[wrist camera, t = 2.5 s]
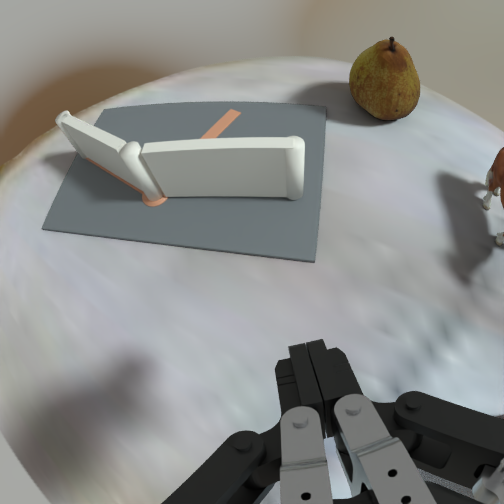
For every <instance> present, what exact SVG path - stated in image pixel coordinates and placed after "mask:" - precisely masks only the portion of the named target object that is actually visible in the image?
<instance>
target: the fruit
mask: <svg viewBox="0 0 504 504" xmlns="http://www.w3.org/2000/svg"><path fill="white" fill-rule="evenodd" d="M389 39H390V40H383V41H379V42H377V43H376V44H375V45H373V46H372V47H370V48H368V49H366V50H365V51H363V52H362V53H361V54H360V55H359V56H358V58H357V59H356V60H355V62H354V64H353V66H352V68H351V71H350V77H349V85H350V90H351V94H352V96H353V98H354V100H355V101H356V102H357V103H358V104H359V105H360V106H361V107H362V108H364V109H365V110H366V111H367V112H369V113H370V114H371V115H373V116H374V117H376V118H379V119H382V120H396V119H401V118H404V117H406V116H407V115H409V114H410V113H411V112H412V111H413V110H414V109H415V107H416V105H417V103H418V100H419V97H420V81H419V78H418V75H417V72H416V69H415V67H414V64H413V61H412V58H411V56H410V54H409V53H408V51H407V50H406V49H405V48H404V47H403V46H402V45H400V44H399V43H397V42H395V41H394V37H390V38H389Z"/></svg>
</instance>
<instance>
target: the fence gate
mask: <svg viewBox="0 0 504 504" xmlns="http://www.w3.org/2000/svg"><path fill="white" fill-rule="evenodd" d="M141 154H142V156H143V158H144V160H145V161H146V163H147V165H148V167H149V168H150V170H151V172H152V174H153V175H154V177H155V179H156V181H157V182H158V184H159V186H160V188H161V189H162V191H163V193H164V195H165V196H166V197H189V196H249V197H287V198H289V199H291V200H297V199H300V198H301V197H302V195H303V186H304V155H305V142H304V140H303V139H302V138H300V137H298V136H289V137H242V138H211V139H192V140H177V141H164V142H153V143H145V144H144V146H143V149H142V152H141Z"/></svg>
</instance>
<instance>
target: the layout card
mask: <svg viewBox="0 0 504 504" xmlns="http://www.w3.org/2000/svg"><path fill="white" fill-rule="evenodd" d="M94 126H95V127H97V128H99V129H101V130H103V131H106V132H108V133H110V134H112V135H114V136H116V137H118V138H120V139H122V140H125V142H126V143H129V142H132V141H135V142H138V143H139V145H140V147H141V149H143V146H144V144H145V143H153V142H164V141H177V140H192V139H211V138H242V137H289V136H298V137H300V138H302V139H303V140H304V142H305V155H304V186H303V195H302V197H301V198H300V199H297V200H291V199H289V198H287V197H249V196H189V197H166V196H165V195H163V197H162V198H161V199H159V200H157V201H150V200H149V199H148V198H147V196H146V195H145V193H144V192H143V191H141V190H140V189H138V188H137V187H135V186H133V185H132V184H130V183H128V182H127V181H125V180H124V179H122V178H120V177H119V176H117V175H115V174H114V173H112V172H110V171H109V170H107V169H106V168H104V167H102V166H101V165H99V164H97V163H96V162H94V161H93V160H91V159H89V158H86V159H83V158H82V157H81V156H80V155H79V153H78V154H77V156H76V158H75V159H74V161H73V163H72V165H71V167H70V169H69V171H68V173H67V175H66V177H65V179H64V181H63V183H62V185H61V187H60V189H59V191H58V193H57V195H56V197H55V199H54V201H53V204H52V206H51V208H50V210H49V212H48V215H47V217H46V219H45V222H44V224H43V226H42V229H43V230H50V231H58V232H66V233H74V234H82V235H90V236H98V237H106V238H114V239H122V240H131V241H139V242H147V243H155V244H163V245H172V246H180V247H188V248H196V249H205V250H213V251H221V252H230V253H238V254H246V255H255V256H263V257H271V258H280V259H288V260H297V261H305V262H313V263H315V256H316V247H317V237H318V226H319V215H320V203H321V191H322V177H323V162H324V146H325V126H326V107H324V106H314V105H302V104H287V103H268V102H184V103H165V104H151V105H139V106H128V107H119V108H111V109H104V110H103V112H102V113H101V115H100V116H99V118H98V120H97V121H96V123H95V125H94Z"/></svg>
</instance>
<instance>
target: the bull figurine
mask: <svg viewBox="0 0 504 504" xmlns="http://www.w3.org/2000/svg"><path fill="white" fill-rule="evenodd" d="M485 185H486V186H489V188H488V192H487V194H486V196H484V198H483V199H484V203H483V207H484V208H485V209H486V210H489V209H490V205H491V197H492V194H493V192H494V195H495V196H499V192H500V196H501V203H502V206H503V208H504V147H503V148H502V149H501V150H500V151H499V153H498V154H497V156H496V158H495V160H494V163H493V165H492V167H491V168H490V170H489V171H488V173H487V176H486V183H485ZM500 188H501V190H500ZM503 240H504V232H502V233H498V234H497V238H496V240H495V241H496V244H497V245H498V246H501V245H502V243H503Z"/></svg>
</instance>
